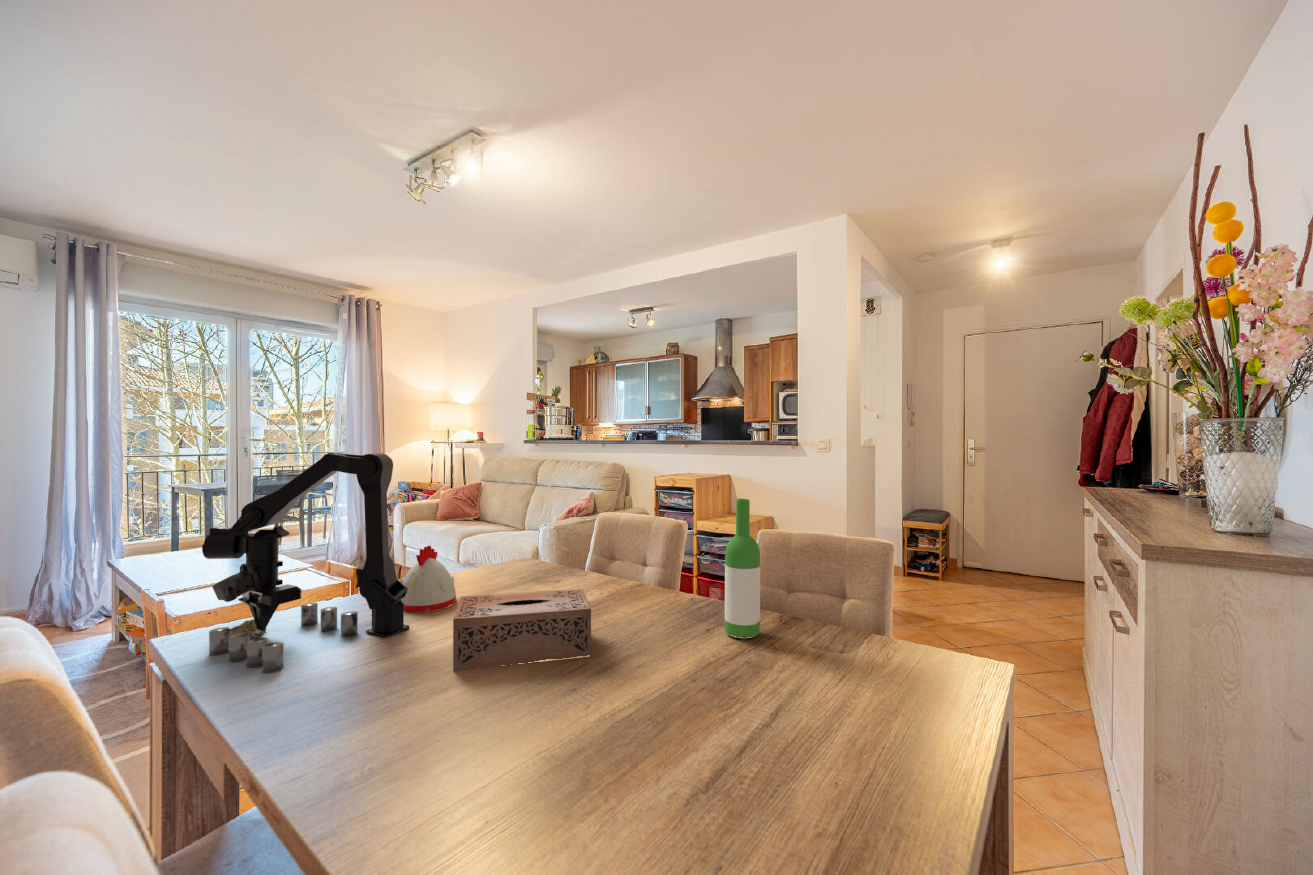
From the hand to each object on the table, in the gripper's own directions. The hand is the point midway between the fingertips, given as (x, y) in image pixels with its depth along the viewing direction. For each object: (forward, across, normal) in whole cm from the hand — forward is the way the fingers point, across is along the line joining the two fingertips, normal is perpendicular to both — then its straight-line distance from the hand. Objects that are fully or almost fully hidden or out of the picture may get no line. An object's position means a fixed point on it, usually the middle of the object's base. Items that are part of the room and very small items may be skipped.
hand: (261, 629), depth 118 cm
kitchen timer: (+1, +14, +32) cm, 35 cm away
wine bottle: (+1, +94, +47) cm, 105 cm away
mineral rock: (+2, -3, -2) cm, 5 cm away
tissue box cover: (+1, +56, +19) cm, 59 cm away
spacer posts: (+1, +11, 0) cm, 11 cm away
